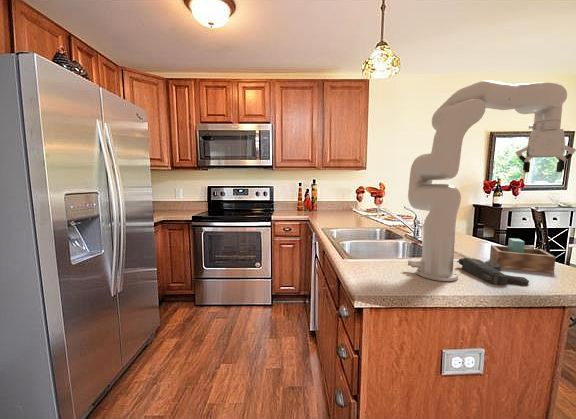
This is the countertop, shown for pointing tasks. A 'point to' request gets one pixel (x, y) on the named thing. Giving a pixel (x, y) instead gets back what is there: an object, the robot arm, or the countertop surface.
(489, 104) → the robot arm
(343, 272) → the countertop surface
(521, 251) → the teal upright block
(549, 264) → the open wooden box
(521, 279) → the toy gun
